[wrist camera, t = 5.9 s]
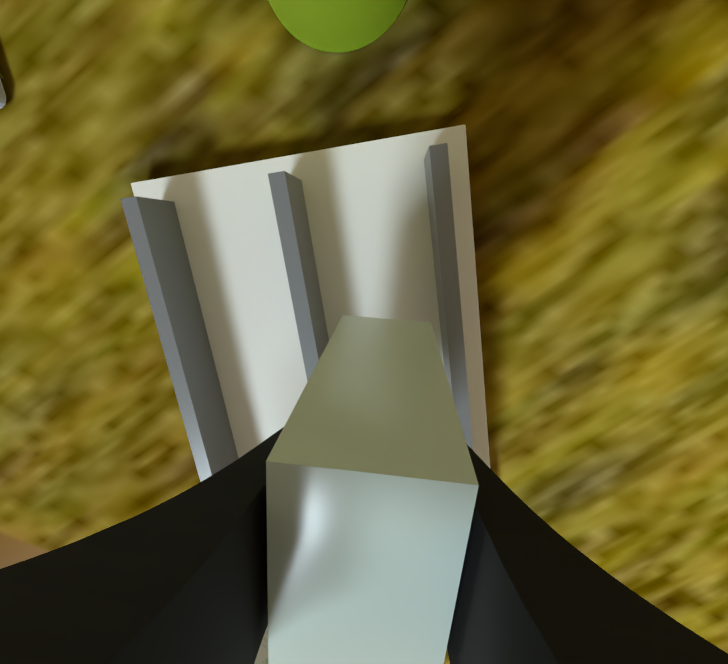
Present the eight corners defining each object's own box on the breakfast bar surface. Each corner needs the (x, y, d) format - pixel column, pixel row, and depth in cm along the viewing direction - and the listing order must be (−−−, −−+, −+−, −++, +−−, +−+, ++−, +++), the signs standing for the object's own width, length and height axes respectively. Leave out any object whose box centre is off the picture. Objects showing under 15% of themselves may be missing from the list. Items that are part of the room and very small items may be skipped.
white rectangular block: (411, 471, 15) (426, 750, 7) (334, 463, 15) (269, 726, 7) (430, 322, 13) (478, 485, 5) (342, 314, 13) (265, 460, 5)
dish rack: (145, 186, 17) (84, 174, 14) (461, 130, 16) (479, 103, 12) (234, 522, 22) (205, 576, 18) (489, 505, 20) (508, 561, 17)
